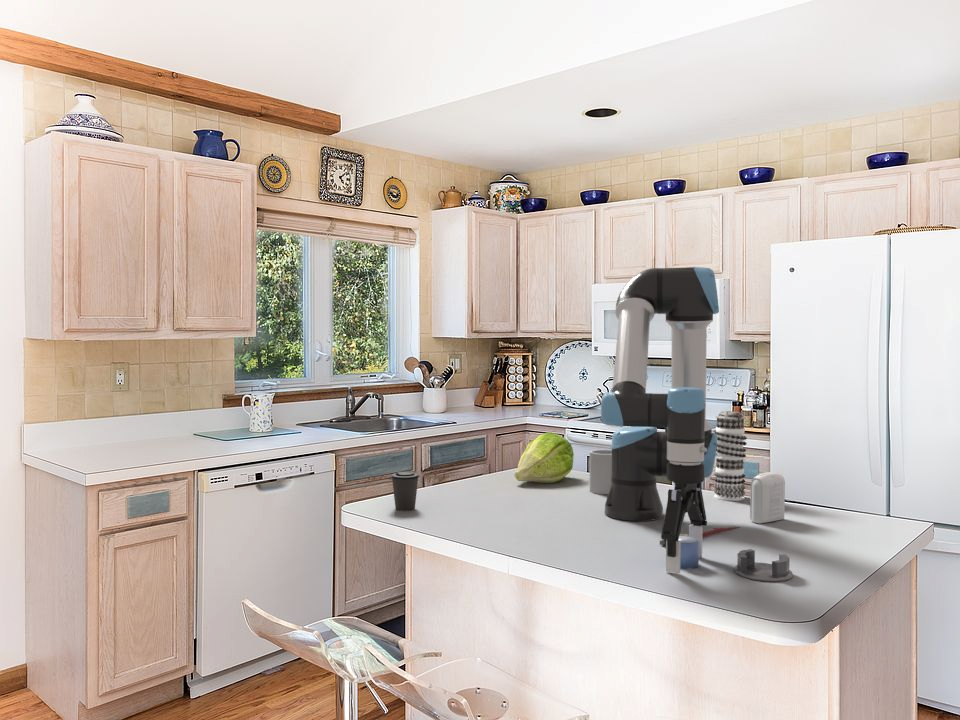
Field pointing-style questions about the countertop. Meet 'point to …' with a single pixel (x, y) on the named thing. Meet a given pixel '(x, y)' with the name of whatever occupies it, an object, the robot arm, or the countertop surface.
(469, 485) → the countertop surface
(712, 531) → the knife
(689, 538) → the blue dome-topped cylinder
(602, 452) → the cup
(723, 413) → the decorative candle
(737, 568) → the disc
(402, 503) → the coffee cup
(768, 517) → the photo printer
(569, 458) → the lettuce
